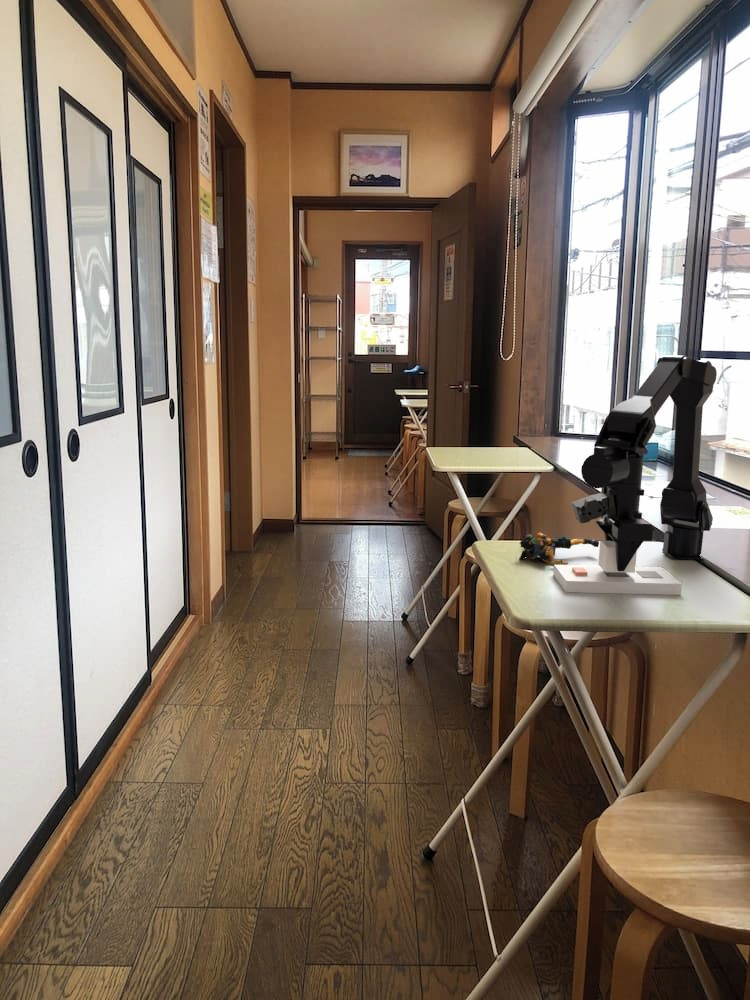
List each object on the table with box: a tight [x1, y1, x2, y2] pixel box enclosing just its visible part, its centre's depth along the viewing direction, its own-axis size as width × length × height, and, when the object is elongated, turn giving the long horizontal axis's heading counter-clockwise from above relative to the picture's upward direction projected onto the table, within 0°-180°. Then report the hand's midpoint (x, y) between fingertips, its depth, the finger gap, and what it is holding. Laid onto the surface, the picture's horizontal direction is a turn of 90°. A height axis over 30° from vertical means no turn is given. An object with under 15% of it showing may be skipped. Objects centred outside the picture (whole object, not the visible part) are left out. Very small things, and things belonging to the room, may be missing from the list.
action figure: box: [518, 532, 600, 566], centre depth 161 cm, size 6×15×15 cm
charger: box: [597, 540, 638, 577], centre depth 145 cm, size 5×5×6 cm
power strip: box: [552, 564, 682, 596], centre depth 146 cm, size 20×10×3 cm, turn 90°
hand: (616, 567), depth 146 cm, fingers closed on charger, 5 cm apart
